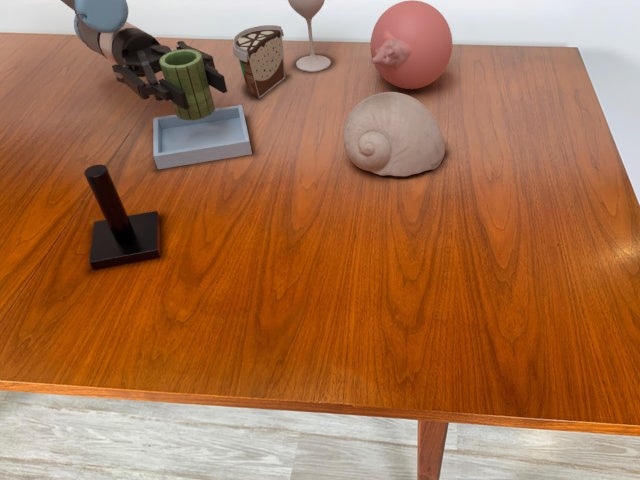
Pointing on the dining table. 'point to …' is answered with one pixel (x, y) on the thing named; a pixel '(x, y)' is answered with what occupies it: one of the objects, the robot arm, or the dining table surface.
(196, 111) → the ring sleeve
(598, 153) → the dining table surface
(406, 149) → the seashell
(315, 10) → the wineglass
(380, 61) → the balloon
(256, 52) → the food container
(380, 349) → the dining table surface
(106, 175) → the post
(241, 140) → the tray
